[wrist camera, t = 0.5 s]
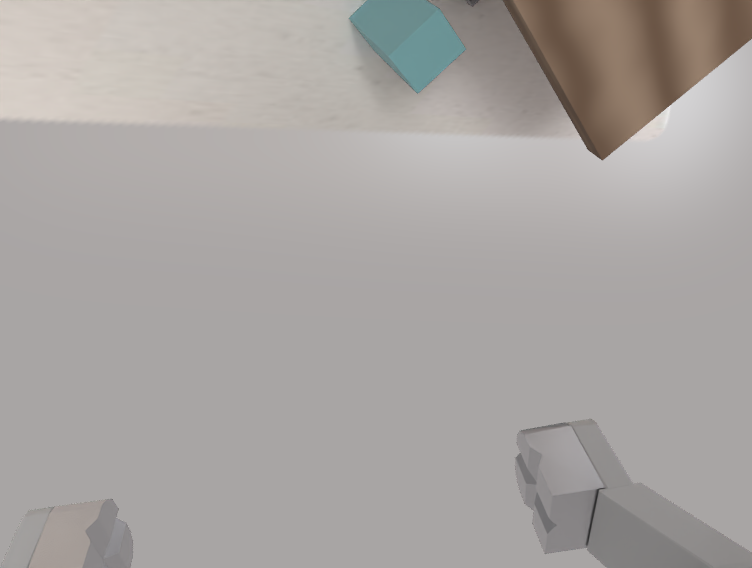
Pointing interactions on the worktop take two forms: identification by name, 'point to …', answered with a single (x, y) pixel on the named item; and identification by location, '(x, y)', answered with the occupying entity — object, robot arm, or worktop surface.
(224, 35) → the worktop surface
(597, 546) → the robot arm
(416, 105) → the worktop surface
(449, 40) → the teal box
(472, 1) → the seat cradle
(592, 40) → the overhang shelf
